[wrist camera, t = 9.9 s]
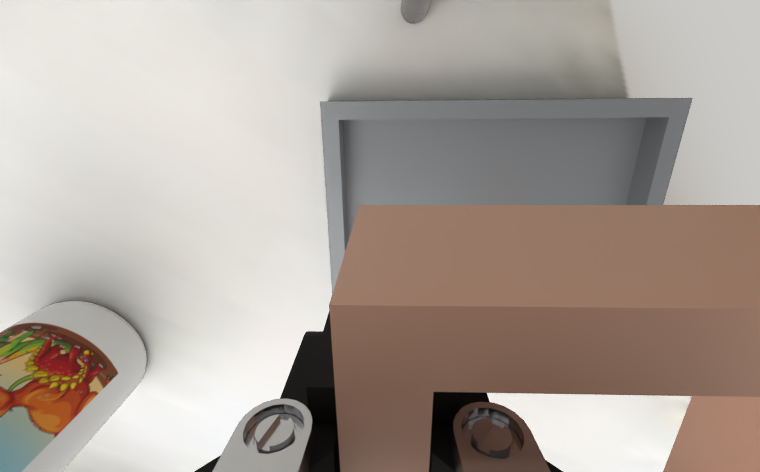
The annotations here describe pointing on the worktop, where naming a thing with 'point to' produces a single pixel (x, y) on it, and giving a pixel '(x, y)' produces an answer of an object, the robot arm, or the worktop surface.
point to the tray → (495, 154)
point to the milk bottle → (63, 382)
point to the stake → (414, 10)
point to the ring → (548, 319)
